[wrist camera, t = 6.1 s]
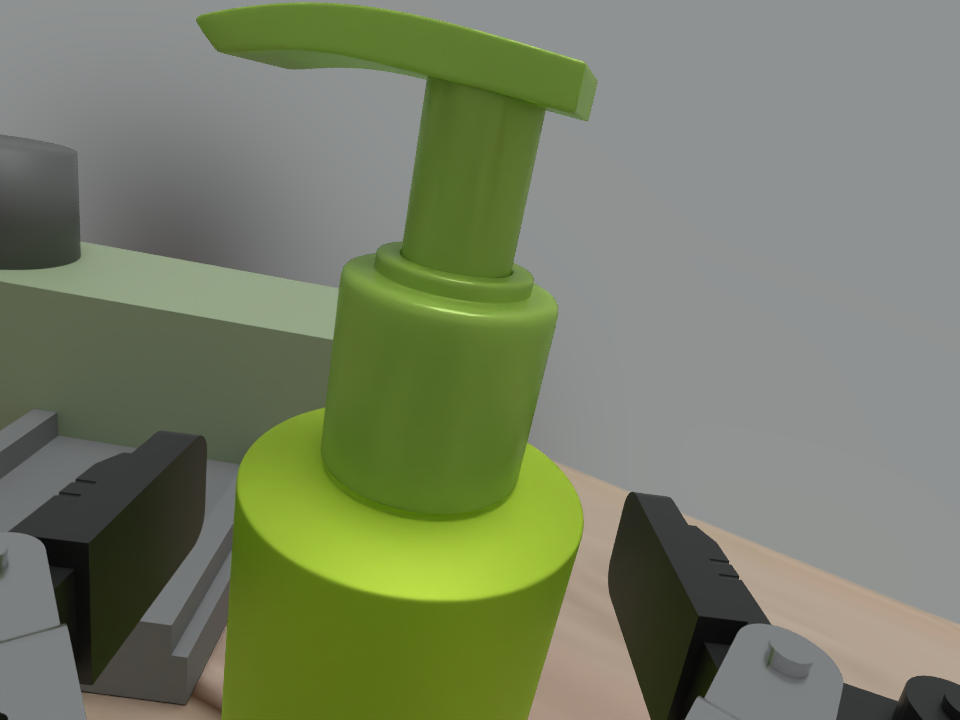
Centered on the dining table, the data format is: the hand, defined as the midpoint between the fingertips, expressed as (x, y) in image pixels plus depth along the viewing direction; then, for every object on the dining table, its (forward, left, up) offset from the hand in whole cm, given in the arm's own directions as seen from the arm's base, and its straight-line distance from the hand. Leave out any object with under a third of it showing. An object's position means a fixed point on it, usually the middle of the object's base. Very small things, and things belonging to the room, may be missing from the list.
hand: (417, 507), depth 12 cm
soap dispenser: (-1, 0, -12) cm, 12 cm away
